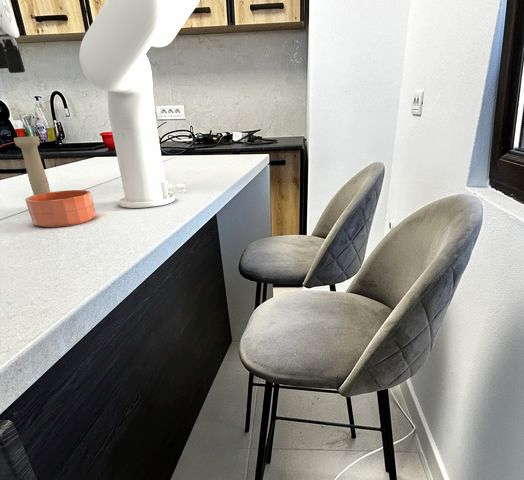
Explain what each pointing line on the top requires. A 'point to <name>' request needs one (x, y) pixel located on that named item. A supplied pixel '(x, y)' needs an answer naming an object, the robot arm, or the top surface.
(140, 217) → the top surface
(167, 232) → the top surface
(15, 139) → the handle
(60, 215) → the bowl
